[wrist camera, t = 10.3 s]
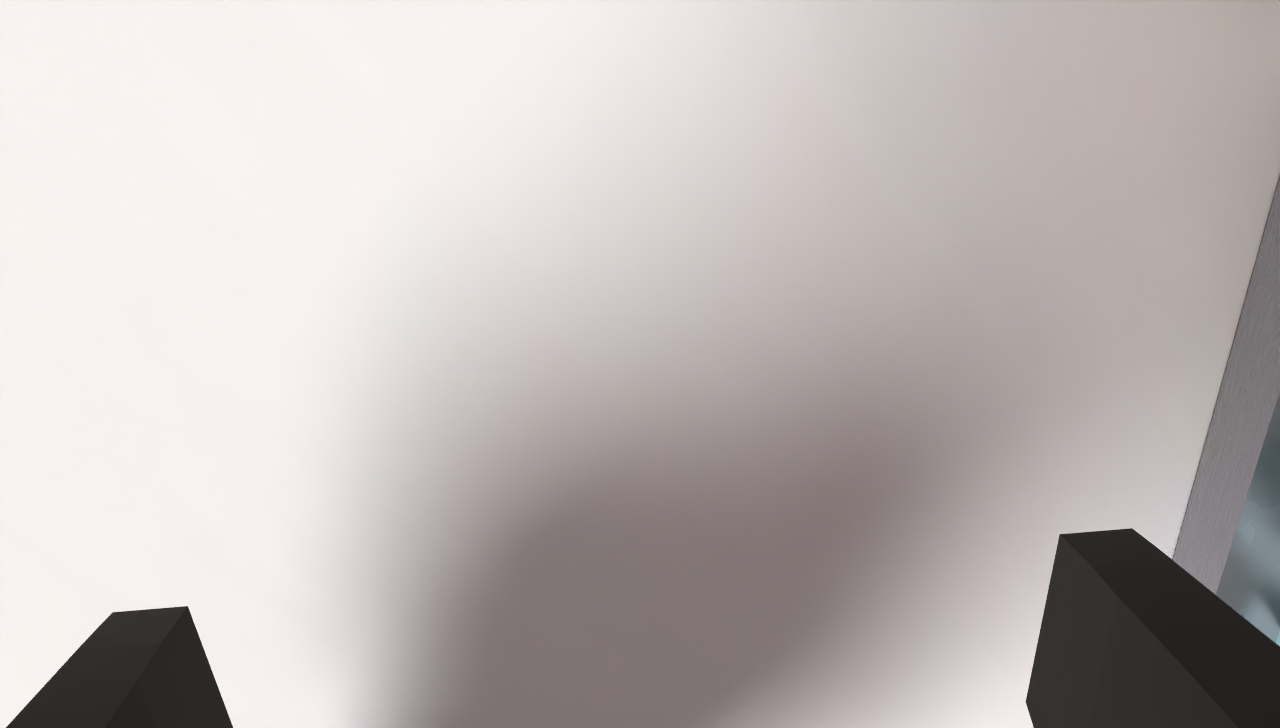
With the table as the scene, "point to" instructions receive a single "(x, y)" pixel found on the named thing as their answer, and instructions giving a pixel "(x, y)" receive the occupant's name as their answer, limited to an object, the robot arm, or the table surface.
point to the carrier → (1244, 460)
